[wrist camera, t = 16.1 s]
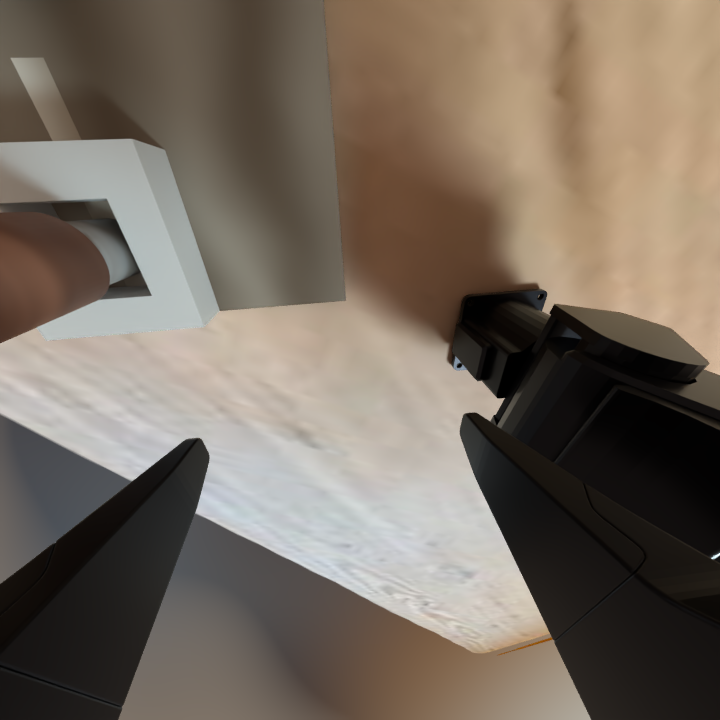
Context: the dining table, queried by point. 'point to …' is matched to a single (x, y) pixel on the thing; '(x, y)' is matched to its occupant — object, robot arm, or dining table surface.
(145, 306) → the pilot socket
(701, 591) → the robot arm
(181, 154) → the board
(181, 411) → the dining table surface
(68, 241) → the brown wooden peg
